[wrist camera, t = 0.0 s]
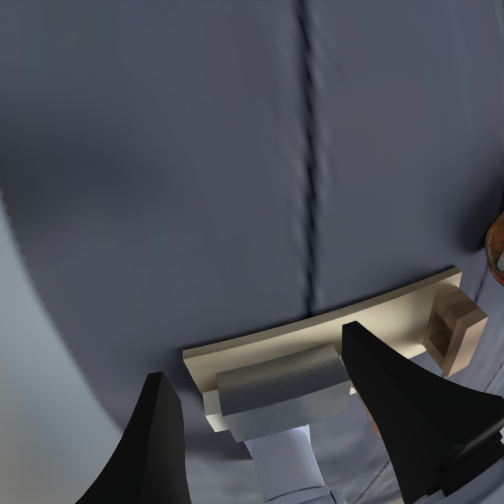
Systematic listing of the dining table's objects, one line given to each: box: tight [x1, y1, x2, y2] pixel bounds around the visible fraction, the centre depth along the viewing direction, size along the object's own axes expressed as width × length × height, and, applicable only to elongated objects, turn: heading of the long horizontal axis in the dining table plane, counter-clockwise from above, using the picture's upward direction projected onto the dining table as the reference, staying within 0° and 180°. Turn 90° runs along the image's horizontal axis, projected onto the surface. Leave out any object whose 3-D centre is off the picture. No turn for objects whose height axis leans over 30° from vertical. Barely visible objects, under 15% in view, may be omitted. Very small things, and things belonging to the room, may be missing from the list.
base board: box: [183, 267, 462, 396], centre depth 27 cm, size 10×26×1 cm, turn 100°
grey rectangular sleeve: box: [216, 342, 351, 443], centre depth 24 cm, size 5×10×4 cm, turn 100°
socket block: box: [422, 286, 488, 377], centre depth 25 cm, size 7×3×5 cm, turn 10°
